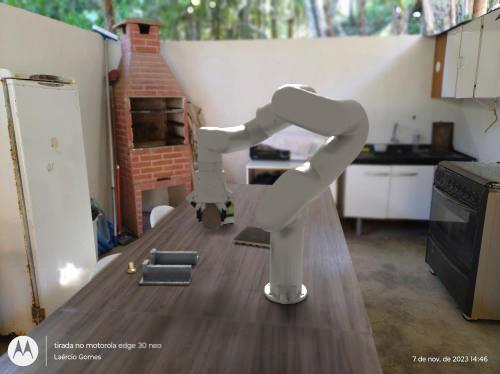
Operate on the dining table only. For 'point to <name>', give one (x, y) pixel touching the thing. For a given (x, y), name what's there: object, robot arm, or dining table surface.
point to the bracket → (168, 268)
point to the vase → (211, 217)
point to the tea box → (229, 210)
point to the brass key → (131, 268)
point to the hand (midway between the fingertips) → (211, 220)
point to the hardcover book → (254, 236)
